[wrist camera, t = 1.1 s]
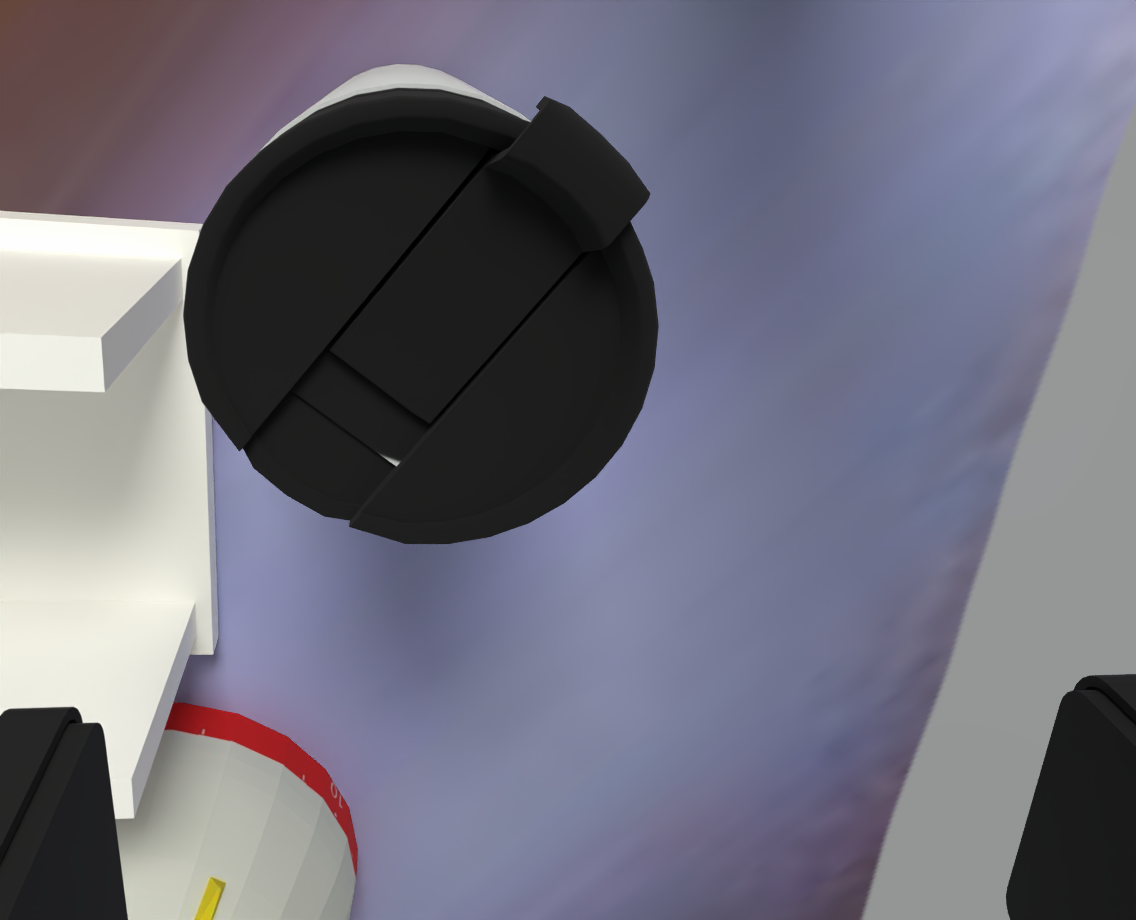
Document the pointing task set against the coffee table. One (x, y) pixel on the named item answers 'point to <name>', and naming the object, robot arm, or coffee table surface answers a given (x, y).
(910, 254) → the coffee table surface
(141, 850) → the kitchen timer
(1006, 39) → the coffee table surface
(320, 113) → the travel mug
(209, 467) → the holder
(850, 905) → the coffee table surface
